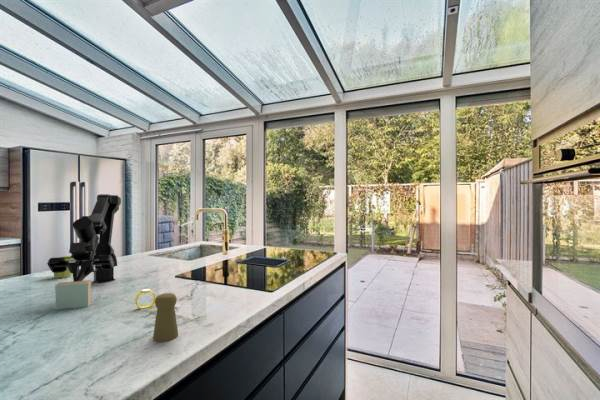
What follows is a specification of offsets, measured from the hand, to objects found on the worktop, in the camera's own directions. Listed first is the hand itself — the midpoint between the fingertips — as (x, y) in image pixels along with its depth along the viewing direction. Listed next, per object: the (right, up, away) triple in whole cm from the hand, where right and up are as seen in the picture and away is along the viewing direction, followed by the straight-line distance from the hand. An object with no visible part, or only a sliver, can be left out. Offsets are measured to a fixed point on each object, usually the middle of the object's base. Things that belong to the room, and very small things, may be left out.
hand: (75, 284), depth 103 cm
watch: (+25, -7, -2) cm, 26 cm away
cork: (+41, -7, -23) cm, 47 cm away
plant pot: (-33, -7, +38) cm, 51 cm away
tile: (0, -7, -1) cm, 7 cm away
